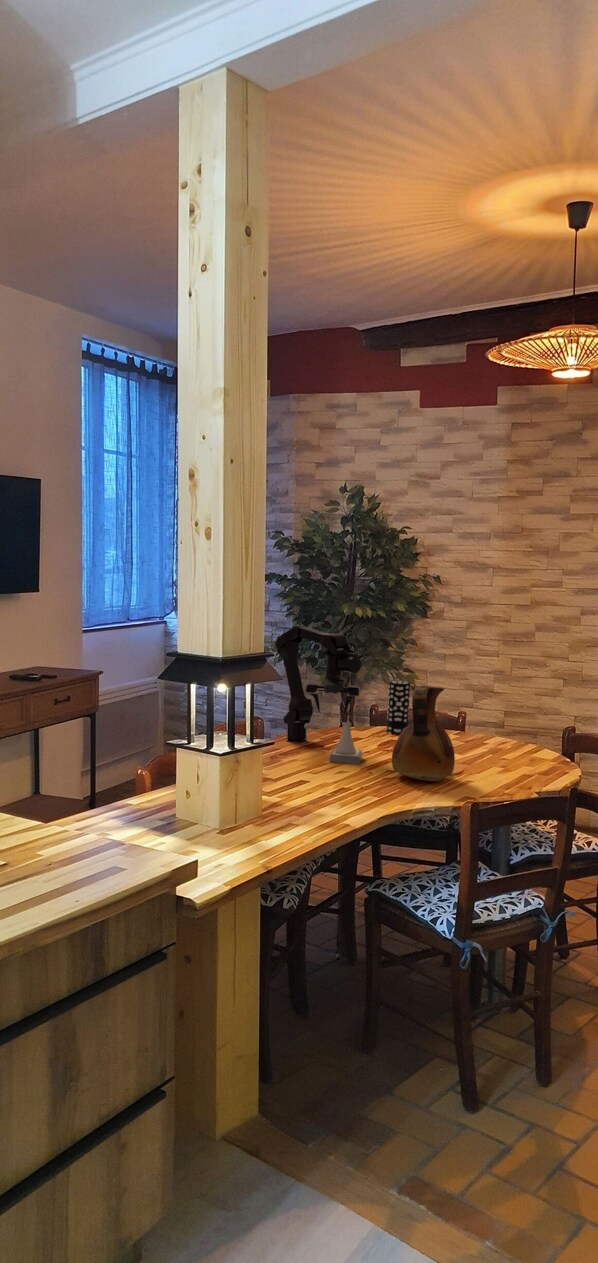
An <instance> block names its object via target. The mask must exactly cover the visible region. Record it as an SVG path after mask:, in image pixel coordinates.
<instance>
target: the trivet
mask: <svg viewBox="0 0 598 1263" xmlns="http://www.w3.org/2000/svg"><path fill="white" fill-rule="evenodd" d="M335 750H336V748H333V749H332V750H331V752H330V754H329V763H335V762H337V763H336V764H348V765H349V764H350V765H351V764H352V765H360V763H361V760H362V759H363V750H358V749H355V750H356V752H355V753H352V754H344V753H338V752H335Z"/></svg>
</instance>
